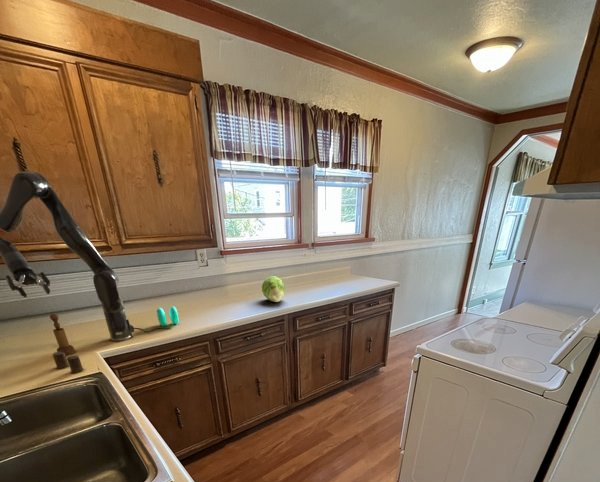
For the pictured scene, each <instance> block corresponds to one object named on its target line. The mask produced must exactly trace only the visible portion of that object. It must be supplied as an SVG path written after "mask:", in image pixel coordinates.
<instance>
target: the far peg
mask: <svg viewBox="0 0 600 482" xmlns="http://www.w3.org/2000/svg"><path fill="white" fill-rule="evenodd" d="M66 359H67V361H68V364H69V366H68V367H69V369H70V372H71V373H72V374H79V373H82V372H83V371H84V367H83V365H82V362H81V359H80V355H77V354H76V355H75V354H74V355H68V356H66Z"/></svg>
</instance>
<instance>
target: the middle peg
mask: <svg viewBox="0 0 600 482" xmlns="http://www.w3.org/2000/svg"><path fill="white" fill-rule="evenodd" d="M52 356H53V360H54V362H55V366H56V369H59V370H61V369H66V368H68V367H70V366H69V363H68V360H67V355H65V353H64V352H57V351H56V352H53V353H52Z"/></svg>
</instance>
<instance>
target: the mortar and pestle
mask: <svg viewBox="0 0 600 482" xmlns="http://www.w3.org/2000/svg"><path fill="white" fill-rule="evenodd" d="M49 319H50V320H51V321H52V322H53V327H54V328H55V329H52V332H53V334H54V337H55V339H56V343H57V345H58V347H57V349H56V352H64V353H65V356H70V355H73V354H74V353H76V349H75V348H74V346H73V345H72V344H70V343H69V340H68V337H67V334H66V331H65V329H64V327H61V324H60V322H58V321H59V315H58V314H57V313H50V315H49Z"/></svg>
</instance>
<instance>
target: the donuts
mask: <svg viewBox="0 0 600 482" xmlns="http://www.w3.org/2000/svg"><path fill="white" fill-rule="evenodd" d="M168 311H169V312H168V314H169V318H170V321H171V323H172V324H174V325H178V324H179V322H180V319H179V314H178V310H177V308H176V307H175V306H170V307H169V310H168ZM156 317H157V320H158V323H159V325H160V326H161V327H165V326H166V325H167V316H166V312H165V311H164V309H163V308H161V307H158V308H156Z"/></svg>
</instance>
